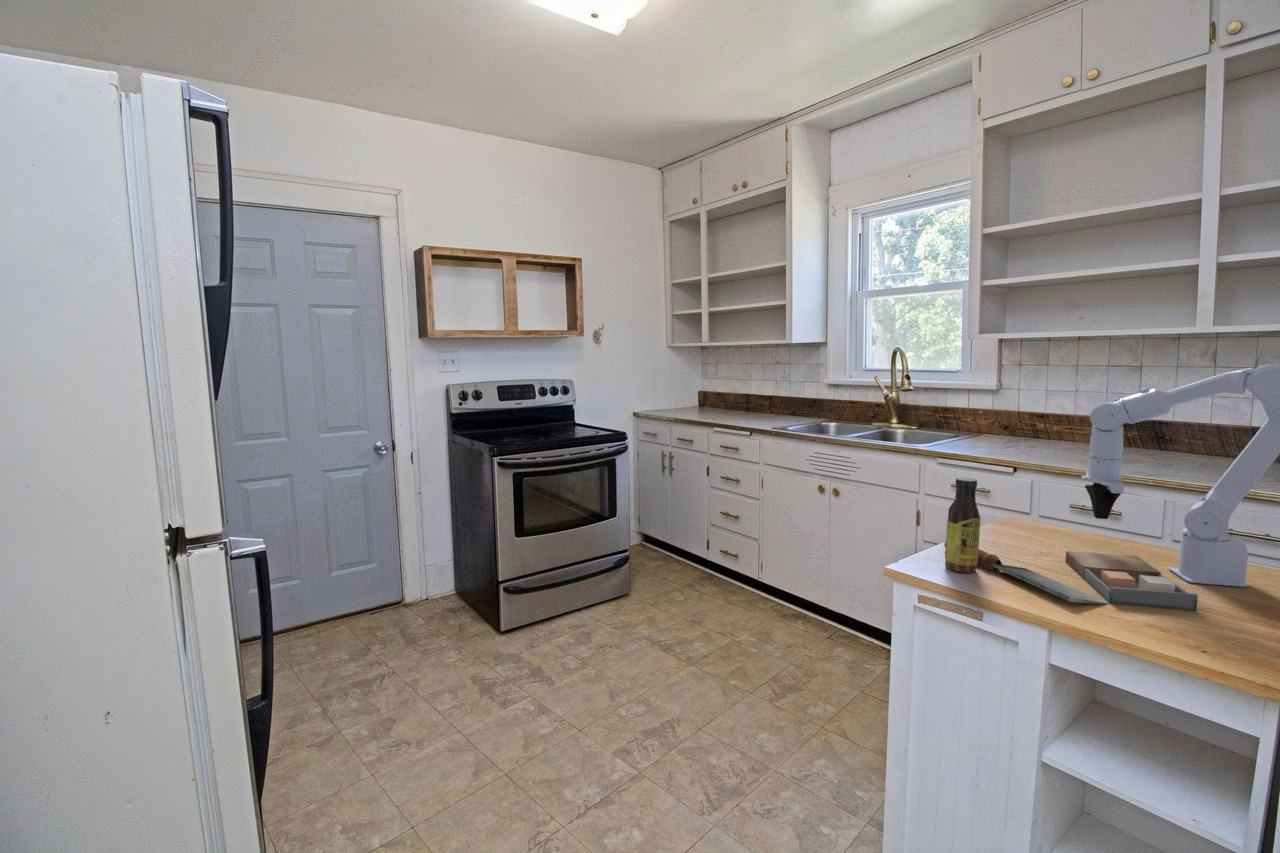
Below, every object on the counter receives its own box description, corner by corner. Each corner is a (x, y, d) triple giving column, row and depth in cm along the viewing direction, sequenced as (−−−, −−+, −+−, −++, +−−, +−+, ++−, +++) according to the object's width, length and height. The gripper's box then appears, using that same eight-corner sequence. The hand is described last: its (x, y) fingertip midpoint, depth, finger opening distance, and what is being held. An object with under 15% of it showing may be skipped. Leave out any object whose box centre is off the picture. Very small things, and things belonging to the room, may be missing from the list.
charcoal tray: (1160, 585, 119) (1162, 570, 119) (1196, 611, 108) (1197, 595, 107) (1083, 579, 123) (1084, 564, 123) (1109, 603, 111) (1111, 587, 111)
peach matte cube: (1135, 579, 113) (1134, 594, 114) (1125, 572, 117) (1124, 586, 118) (1110, 577, 115) (1109, 592, 115) (1101, 570, 118) (1100, 584, 119)
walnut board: (1136, 567, 129) (1136, 555, 129) (1159, 584, 120) (1161, 572, 119) (1065, 562, 133) (1066, 551, 133) (1083, 578, 123) (1083, 566, 123)
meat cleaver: (1119, 604, 112) (1121, 584, 111) (1069, 611, 110) (1070, 590, 109) (982, 549, 145) (982, 533, 144) (941, 554, 142) (941, 537, 142)
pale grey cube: (1175, 585, 111) (1173, 600, 111) (1164, 577, 114) (1163, 592, 115) (1148, 582, 112) (1147, 598, 112) (1139, 575, 116) (1138, 589, 116)
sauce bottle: (962, 576, 126) (966, 483, 124) (937, 566, 132) (941, 478, 130) (984, 571, 129) (989, 480, 126) (959, 562, 134) (963, 475, 132)
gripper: (1071, 451, 140) (1067, 508, 141) (1097, 463, 126) (1093, 525, 128) (1107, 452, 137) (1103, 510, 139) (1138, 464, 124) (1132, 528, 125)
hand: (1101, 518), depth 133 cm, fingers closed
